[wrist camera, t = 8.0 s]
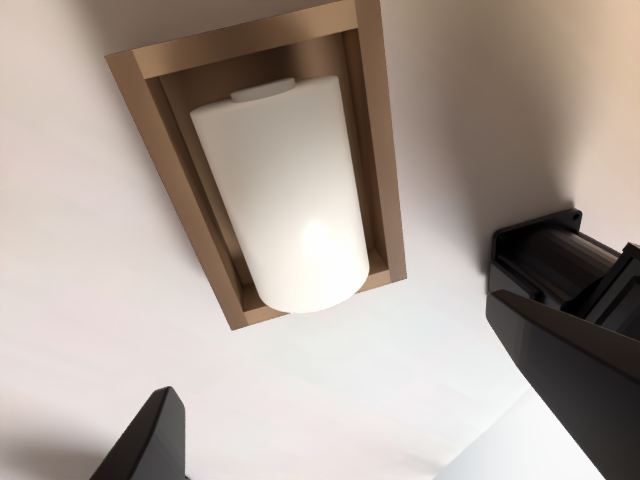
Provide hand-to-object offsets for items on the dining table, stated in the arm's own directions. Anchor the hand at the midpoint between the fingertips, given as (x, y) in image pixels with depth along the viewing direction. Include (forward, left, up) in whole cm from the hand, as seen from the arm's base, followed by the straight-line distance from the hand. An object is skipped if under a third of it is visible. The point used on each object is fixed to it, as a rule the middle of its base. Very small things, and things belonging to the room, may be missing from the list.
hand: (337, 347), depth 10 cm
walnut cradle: (0, -1, -12) cm, 12 cm away
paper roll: (0, -1, -8) cm, 8 cm away
